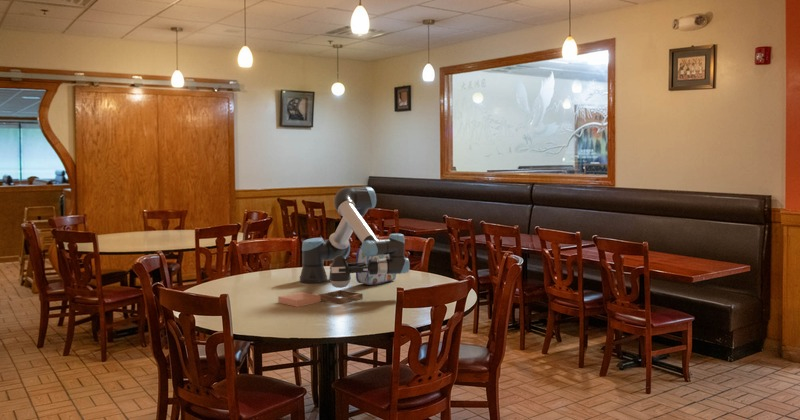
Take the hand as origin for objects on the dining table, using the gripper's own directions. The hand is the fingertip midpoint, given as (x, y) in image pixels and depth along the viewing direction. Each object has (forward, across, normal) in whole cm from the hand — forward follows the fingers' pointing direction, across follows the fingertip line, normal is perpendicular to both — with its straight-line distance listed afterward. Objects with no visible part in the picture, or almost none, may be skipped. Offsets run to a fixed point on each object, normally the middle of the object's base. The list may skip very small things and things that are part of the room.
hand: (330, 268), depth 323 cm
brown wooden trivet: (-4, 0, -15) cm, 16 cm away
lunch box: (-28, +38, -16) cm, 50 cm away
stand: (+15, -2, -15) cm, 22 cm away
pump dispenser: (-4, 0, -9) cm, 10 cm away
